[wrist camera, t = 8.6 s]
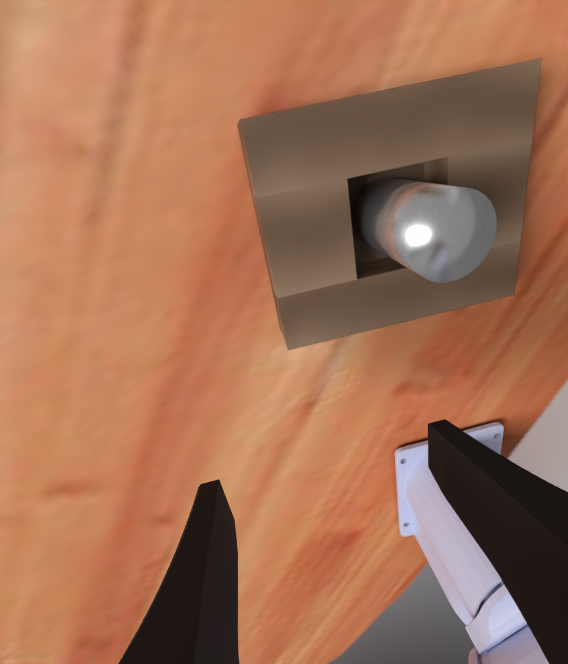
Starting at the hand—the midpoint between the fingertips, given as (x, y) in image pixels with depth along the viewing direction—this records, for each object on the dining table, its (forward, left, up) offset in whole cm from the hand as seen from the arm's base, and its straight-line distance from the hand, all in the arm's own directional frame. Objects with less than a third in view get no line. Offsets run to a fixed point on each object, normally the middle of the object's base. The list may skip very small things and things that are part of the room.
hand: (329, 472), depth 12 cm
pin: (+6, -6, -9) cm, 12 cm away
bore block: (+6, -6, -9) cm, 13 cm away
